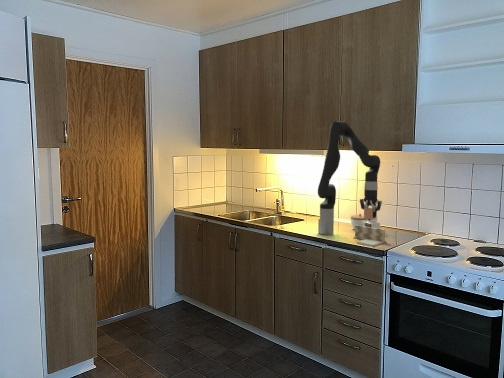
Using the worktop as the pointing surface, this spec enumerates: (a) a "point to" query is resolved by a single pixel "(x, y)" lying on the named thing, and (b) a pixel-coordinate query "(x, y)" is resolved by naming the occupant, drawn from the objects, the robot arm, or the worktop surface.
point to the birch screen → (369, 233)
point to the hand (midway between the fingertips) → (370, 216)
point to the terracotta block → (368, 213)
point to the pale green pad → (369, 242)
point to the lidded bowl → (358, 220)
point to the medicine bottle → (372, 223)
